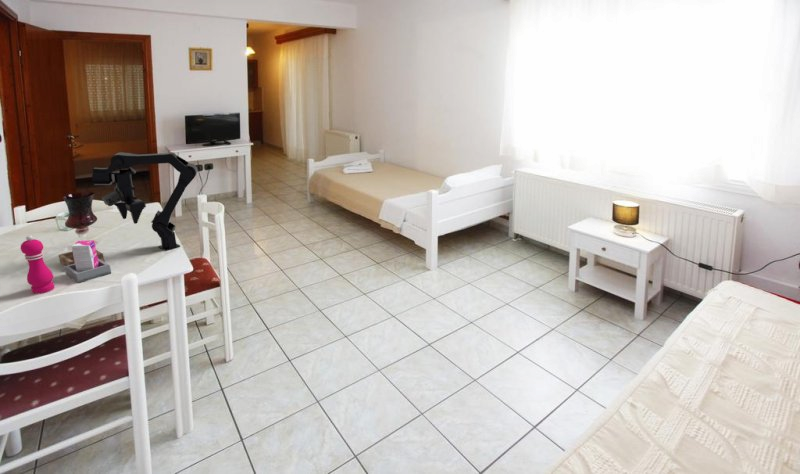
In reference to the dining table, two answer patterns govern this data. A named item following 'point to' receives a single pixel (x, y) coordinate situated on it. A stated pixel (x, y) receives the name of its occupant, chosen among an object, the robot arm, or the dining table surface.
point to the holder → (69, 258)
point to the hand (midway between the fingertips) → (130, 221)
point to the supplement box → (85, 255)
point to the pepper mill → (37, 266)
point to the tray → (88, 272)
